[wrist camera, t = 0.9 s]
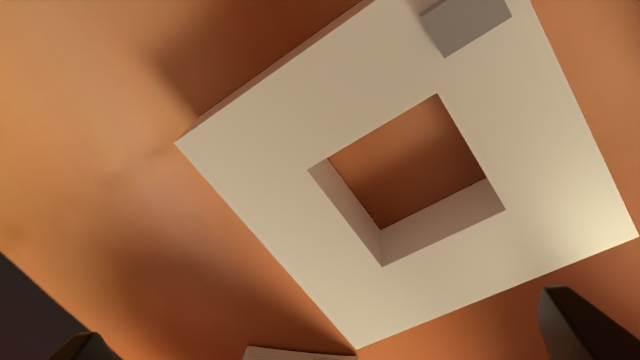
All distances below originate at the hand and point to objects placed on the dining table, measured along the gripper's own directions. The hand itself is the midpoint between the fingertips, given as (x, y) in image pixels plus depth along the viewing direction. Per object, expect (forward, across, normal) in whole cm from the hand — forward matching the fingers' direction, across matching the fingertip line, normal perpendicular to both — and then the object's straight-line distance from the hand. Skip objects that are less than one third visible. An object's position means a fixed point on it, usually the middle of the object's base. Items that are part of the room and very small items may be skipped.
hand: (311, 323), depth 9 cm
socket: (+12, -3, +4) cm, 13 cm away
